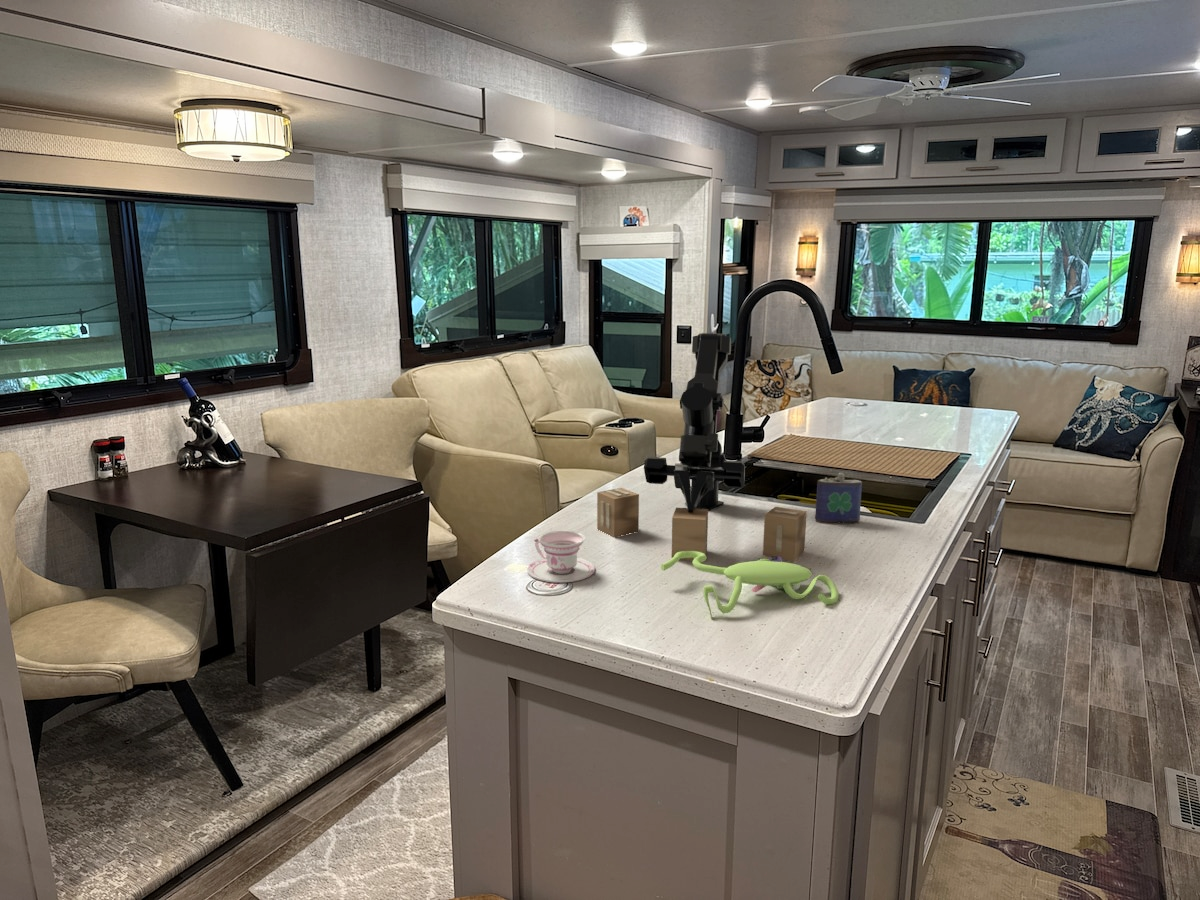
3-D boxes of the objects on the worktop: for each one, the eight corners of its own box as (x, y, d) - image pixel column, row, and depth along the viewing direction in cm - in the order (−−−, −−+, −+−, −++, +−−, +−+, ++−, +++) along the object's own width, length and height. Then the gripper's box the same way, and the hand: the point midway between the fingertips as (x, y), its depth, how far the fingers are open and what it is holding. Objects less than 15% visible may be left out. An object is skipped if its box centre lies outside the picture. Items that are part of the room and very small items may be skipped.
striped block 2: (773, 546, 157) (775, 505, 155) (804, 551, 154) (806, 510, 152) (762, 556, 152) (764, 513, 150) (794, 561, 149) (796, 518, 147)
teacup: (603, 563, 148) (603, 530, 147) (583, 587, 137) (583, 552, 136) (540, 556, 152) (540, 525, 150) (516, 580, 140) (516, 545, 139)
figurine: (654, 580, 141) (654, 549, 140) (794, 565, 148) (796, 536, 146) (692, 624, 124) (693, 589, 122) (849, 606, 130) (852, 573, 129)
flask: (857, 520, 173) (861, 471, 171) (861, 524, 170) (865, 474, 168) (813, 519, 174) (816, 470, 171) (816, 523, 171) (819, 474, 168)
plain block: (675, 547, 156) (676, 507, 154) (707, 549, 155) (708, 509, 153) (671, 559, 150) (672, 517, 148) (704, 561, 149) (705, 519, 147)
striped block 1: (621, 524, 170) (621, 486, 168) (638, 532, 165) (638, 493, 163) (596, 530, 167) (596, 491, 165) (613, 538, 162) (613, 498, 160)
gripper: (646, 415, 154) (635, 486, 146) (746, 419, 150) (741, 492, 142) (651, 447, 163) (641, 516, 155) (746, 452, 159) (741, 522, 151)
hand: (690, 511), depth 150 cm, fingers closed
